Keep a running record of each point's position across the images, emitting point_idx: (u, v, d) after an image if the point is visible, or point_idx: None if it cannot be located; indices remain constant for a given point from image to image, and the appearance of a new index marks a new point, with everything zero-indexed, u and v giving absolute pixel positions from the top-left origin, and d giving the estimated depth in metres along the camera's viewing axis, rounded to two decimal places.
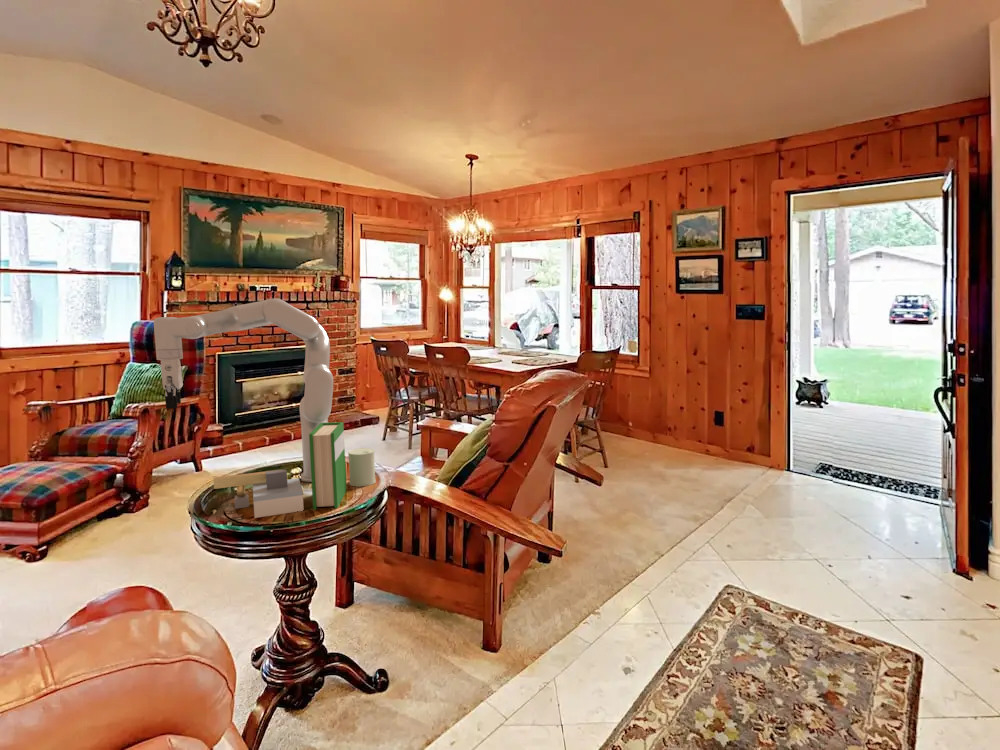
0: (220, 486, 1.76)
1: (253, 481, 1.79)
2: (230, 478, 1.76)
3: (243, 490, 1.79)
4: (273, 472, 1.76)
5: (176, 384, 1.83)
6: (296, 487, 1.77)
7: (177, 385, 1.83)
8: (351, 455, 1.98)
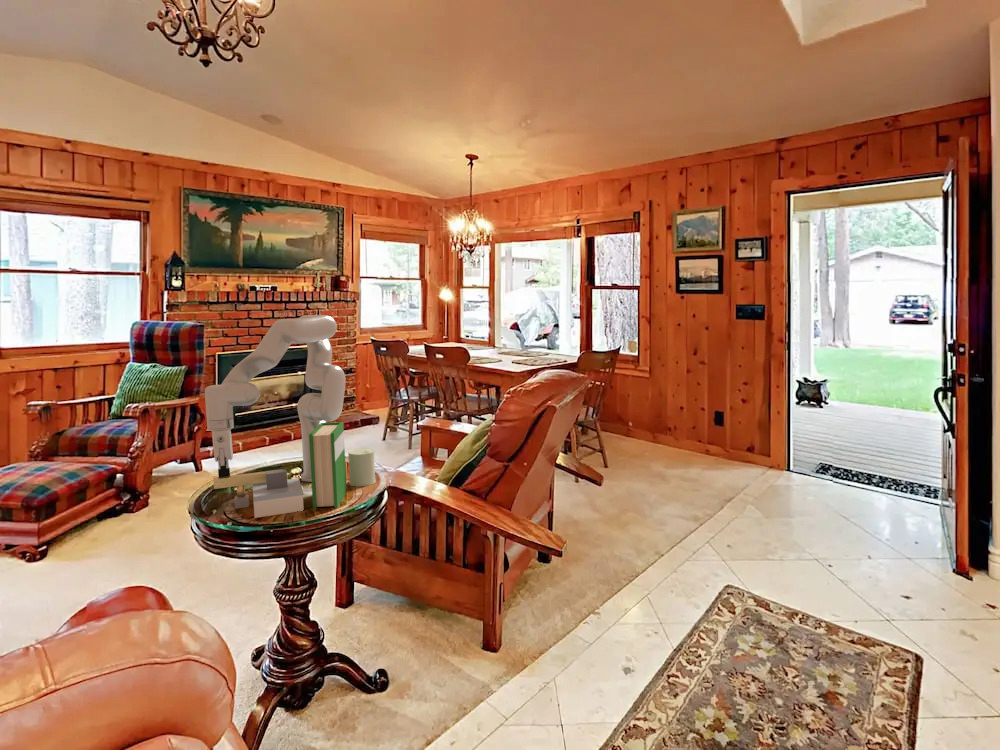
0: (220, 486, 1.75)
1: (253, 481, 1.79)
2: (230, 478, 1.76)
3: (243, 490, 1.79)
4: (273, 472, 1.76)
5: (228, 456, 1.75)
6: (296, 487, 1.77)
7: (229, 457, 1.75)
8: (351, 455, 1.98)
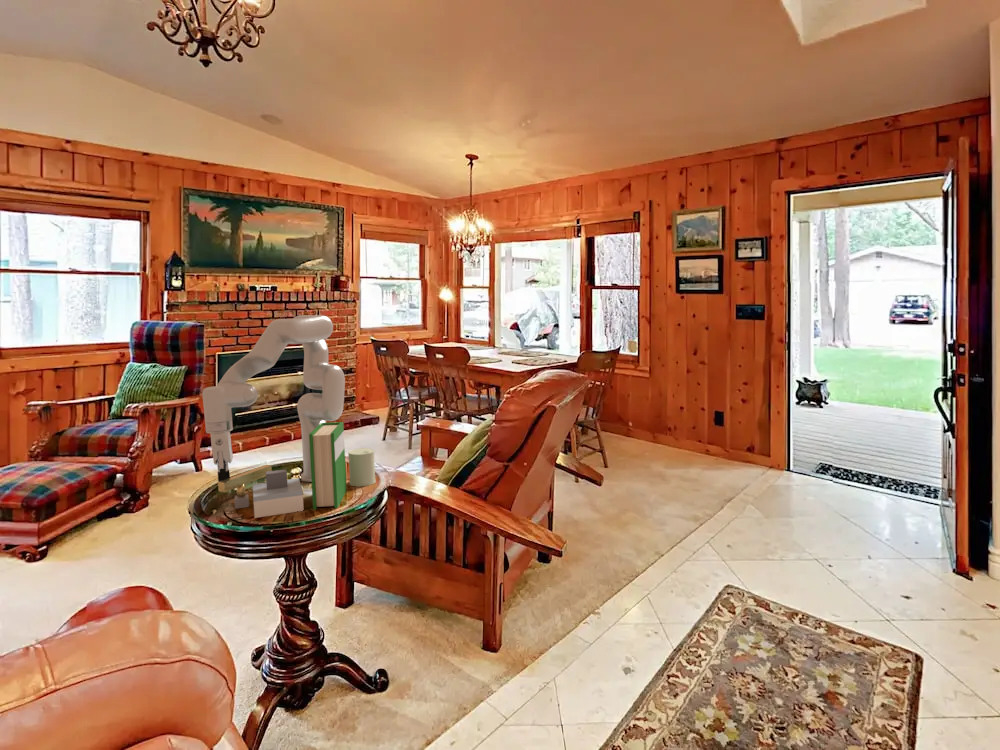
0: (229, 489, 1.73)
1: (252, 479, 1.82)
2: (236, 479, 1.76)
3: (244, 489, 1.80)
4: (273, 472, 1.76)
5: (227, 458, 1.72)
6: (296, 487, 1.77)
7: (228, 459, 1.72)
8: (351, 455, 1.98)
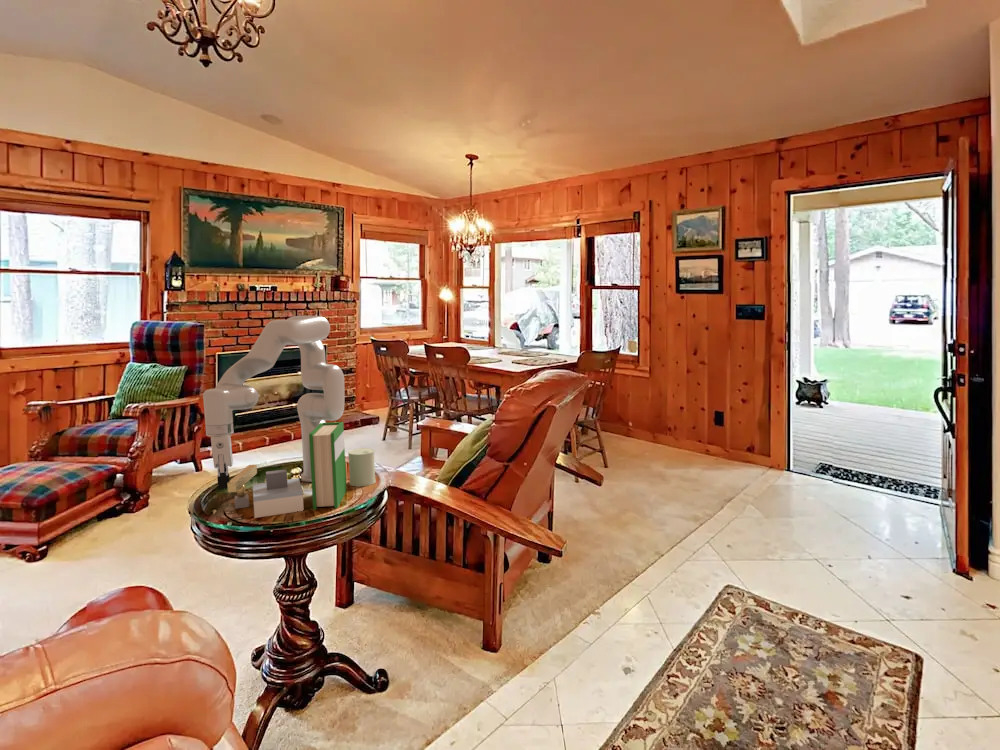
0: (238, 488, 1.73)
1: (248, 478, 1.83)
2: (240, 478, 1.76)
3: None
4: (273, 472, 1.76)
5: (228, 462, 1.68)
6: (296, 487, 1.77)
7: (229, 463, 1.68)
8: (351, 455, 1.98)
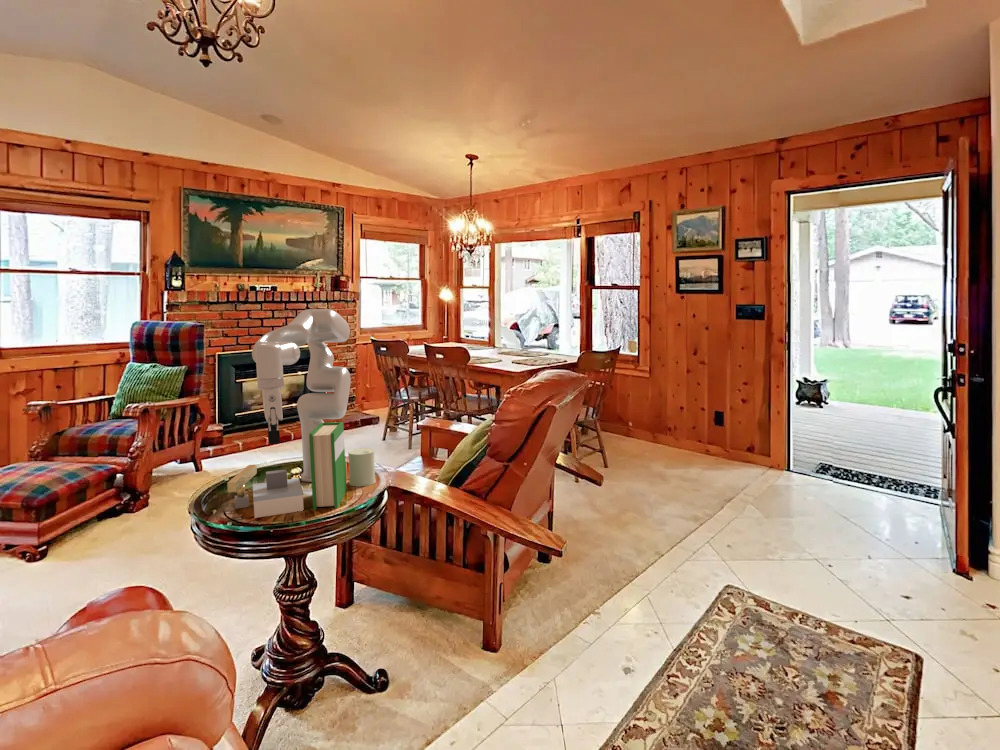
0: (238, 488, 1.73)
1: (248, 478, 1.83)
2: (240, 478, 1.76)
3: None
4: (273, 472, 1.76)
5: (280, 415, 1.71)
6: (296, 487, 1.77)
7: (280, 416, 1.71)
8: (351, 455, 1.98)
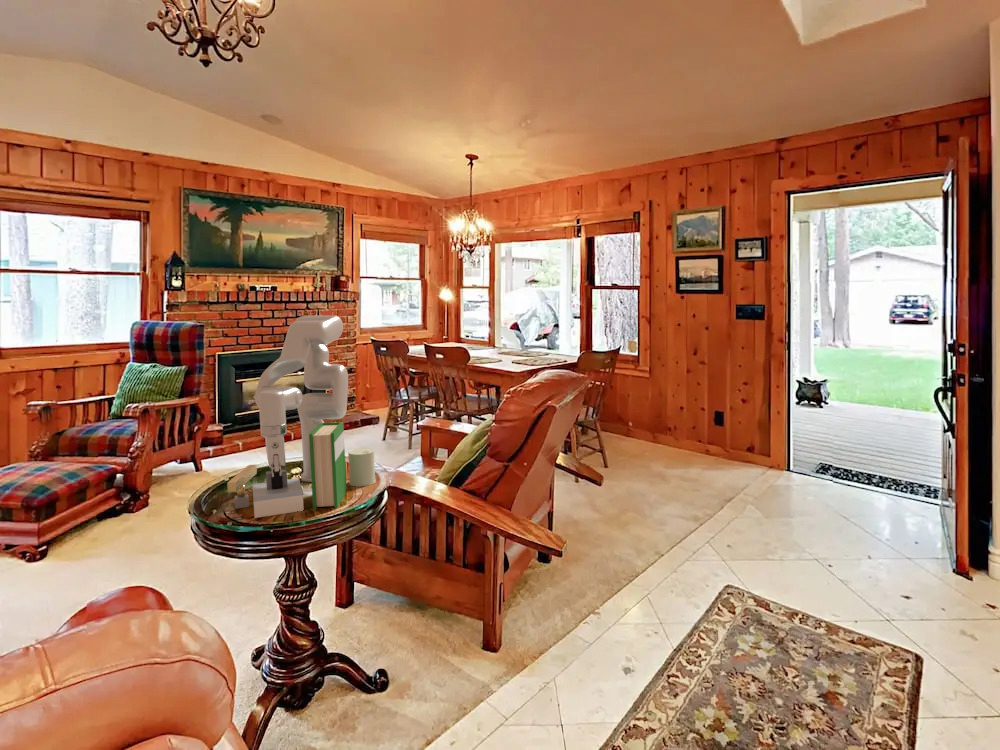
0: (238, 488, 1.73)
1: (248, 478, 1.83)
2: (240, 478, 1.76)
3: None
4: None
5: (283, 462, 1.73)
6: (296, 487, 1.77)
7: (283, 463, 1.73)
8: (351, 455, 1.98)
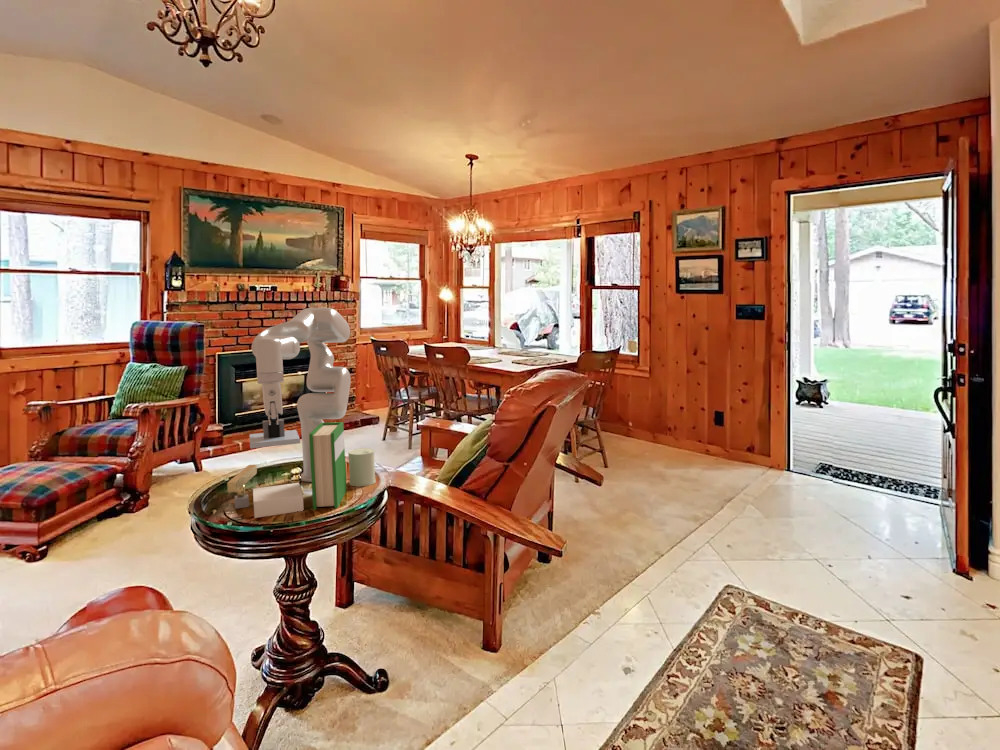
0: (238, 488, 1.73)
1: (248, 478, 1.83)
2: (240, 478, 1.76)
3: None
4: None
5: (279, 409, 1.71)
6: (294, 436, 1.75)
7: (280, 410, 1.71)
8: (351, 455, 1.98)
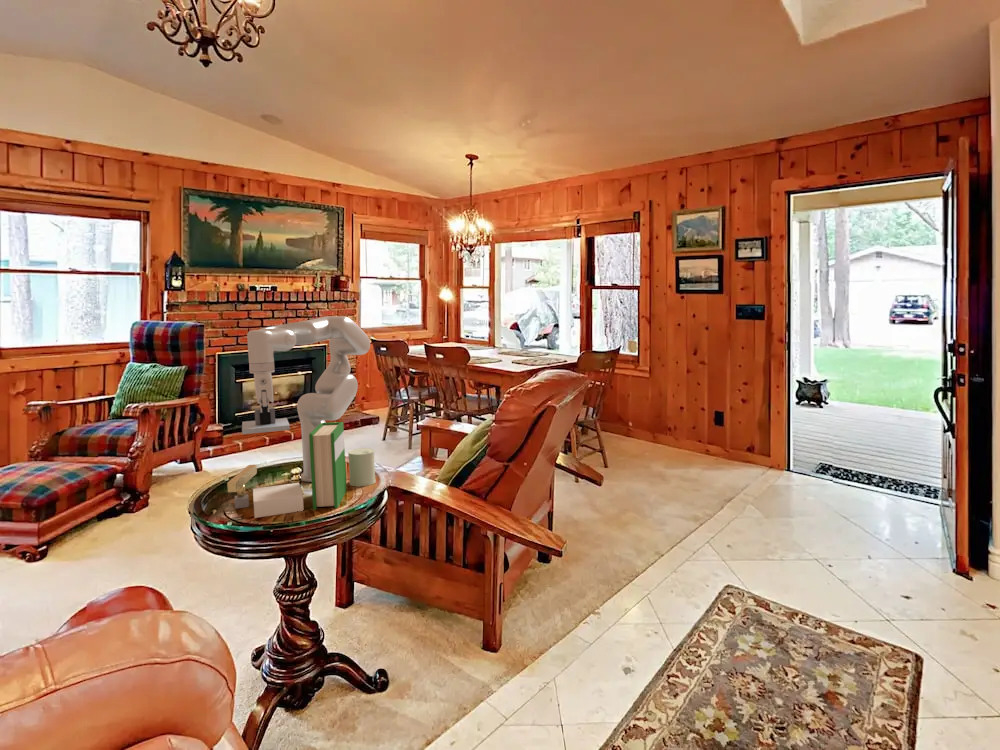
0: (238, 488, 1.73)
1: (248, 478, 1.83)
2: (240, 478, 1.76)
3: None
4: None
5: (270, 398, 1.81)
6: (284, 423, 1.85)
7: (271, 399, 1.81)
8: (351, 455, 1.98)
